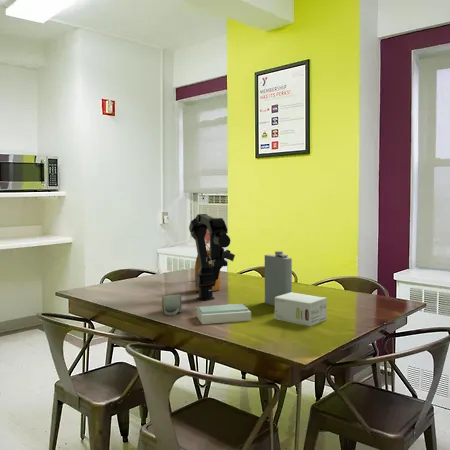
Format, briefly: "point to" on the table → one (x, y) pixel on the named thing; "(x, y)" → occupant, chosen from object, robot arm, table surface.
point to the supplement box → (301, 308)
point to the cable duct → (223, 317)
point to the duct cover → (222, 308)
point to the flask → (277, 276)
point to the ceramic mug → (171, 304)
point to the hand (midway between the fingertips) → (216, 279)
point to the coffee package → (197, 267)
